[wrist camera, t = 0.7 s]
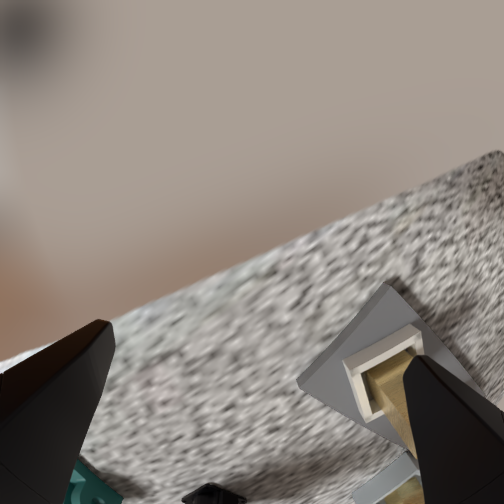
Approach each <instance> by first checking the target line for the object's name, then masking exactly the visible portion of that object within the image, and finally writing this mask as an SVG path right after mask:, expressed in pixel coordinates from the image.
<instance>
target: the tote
mask: <svg viewBox="0 0 504 504" xmlns="http://www.w3.org/2000/svg"><path fill="white" fill-rule="evenodd" d="M412 477H416V478H417V480H418V482H419V483H420V485H421V486H422V482H421V476H420V470H419V465H418V459H415V457H414V456H413V455H411V454H409V453H407V452H404V453H403V454H402V455H401V456H400V457H399V458H397V459H396V460H395V461H394V462H393V463H391V464H390V465H389V466H388V467H387V468H385V469H384V470H383V471H381V472H380V473H379V474H378V475H376V476H375V477H374V478H372V479H371V480H370V481H368V482H367V483H365V484H364V485H363V486H361V487H360V488H358V489H357V490H355V491H354V492H353V493H352V496H353V498H354V501H355V503H356V504H386V502H385V500H384V498H385V497H386V496H387V495H389V494H390V493H392V492H393V491H394V490H396V489H397V488H398V487H400V486H401V485H402V484H403V483H405V482H406V481H407V480H409V479H410V478H412Z"/></svg>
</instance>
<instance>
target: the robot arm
mask: <svg viewBox="0 0 504 504" xmlns="http://www.w3.org/2000/svg"><path fill="white" fill-rule="evenodd" d="M115 347H116V345H115V338H114V332H113V326H112V323H111V322H109V321H105V320H101V319H97V320H95V321H93V322H91V323H89V324H88V325H86V326H84V327H82V328H81V329H79V330H77V331H75V332H73V333H71V334H70V335H68V336H66V337H64V338H62V339H61V340H59V341H57V342H55V343H53V344H52V345H50V346H48V347H46V348H45V349H43V350H41V351H39V352H38V353H36V354H34V355H32V356H30V357H29V358H27V359H25V360H23V361H22V362H20V363H18V364H16V365H15V366H13V367H11V368H9V369H8V370H6V371H4V372H3V373H1V374H0V504H63V502H64V499H65V496H66V492H67V489H68V486H69V483H70V480H71V477H72V473H73V470H74V467H75V464H76V462H77V459H78V456H79V453H80V450H81V447H82V445H83V442H84V439H85V437H86V434H87V431H88V429H89V426H90V423H91V421H92V418H93V416H94V413H95V411H96V408H97V406H98V403H99V401H100V398H101V396H102V392H103V389H104V386H105V382H106V379H107V375H108V372H109V369H110V365H111V362H112V359H113V356H114V352H115ZM403 385H404V391H405V397H406V404H407V411H408V417H409V422H410V427H411V431H412V436H413V440H414V445H415V449H416V454H417V459H418V465H419V470H420V476H421V482H422V488H423V495H424V502H425V504H504V412H503V411H501V410H500V409H499V408H497V407H496V406H495V405H494V404H492V403H491V402H490V401H488V400H487V399H486V398H484V397H483V396H482V395H480V394H479V393H478V392H476V391H475V390H474V389H472V388H471V387H470V386H468V385H467V384H466V383H464V382H463V381H462V380H460V379H459V378H458V377H456V376H455V375H453V374H452V373H451V372H449V371H448V370H447V369H445V368H444V367H443V366H441V365H440V364H439V363H437V362H436V361H434V360H433V359H432V358H430V357H429V356H427V355H416V356H414V357H413V359H412V360H411V362H410V363H409V365H408V367H407V368H406V370H405V371H404V374H403ZM181 501H182V502H183V503H185V504H245V503H246V502H247V499H246V498H243V497H240V496H237V495H235V494H232V493H230V492H227V491H225V490H222V489H220V488H217V487H215V486H213V485H210V484H205V485H204V486H202V487H200V488H199V489H197V490H195V491H194V492H192V493H190V494H189V495H187V496H185V497H183V498H182V500H181Z"/></svg>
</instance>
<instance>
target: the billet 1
mask: <svg viewBox="0 0 504 504" xmlns="http://www.w3.org/2000/svg"><path fill="white" fill-rule="evenodd" d="M412 359H413V357H412V356H411V355H410V354H408V353H407V352H406V351H405V350H402V351H400V352H399V353H397V354H395V355H393V356H392V357H390V358H388V359H386V360H385V361H383V362H381V363H379V364H377V365H375V366H373V367H372V368H370V369H368V370H366V371H364V373H365V376H366V380H367V383H368V387H369V390H370V394H371V396H372V397H373V399H374V400H375V401H376V403H377V404H378V406H379V407H380V408H381V410H382V411H383V413H384V414H385V416H386V417H387V418H388V420H389V421H390V423H391V424H392V426H393V427H394V428H395V430H396V431H397V433H398V434H399V436H400V437H401V438H402V440H403V441H404V443H405V444H406V446H407V447H408V448H409V450H410V451H411V453H412V454H413V456H414V457H415V459H417V454H416V449H415V445H414V440H413V436H412V431H411V427H410V422H409V417H408V411H407V404H406V397H405V391H404V385H403V374H404V371H405V370H406V368H407V367H408V365H409V363H410V362H411V360H412Z"/></svg>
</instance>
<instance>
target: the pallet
mask: <svg viewBox="0 0 504 504" xmlns="http://www.w3.org/2000/svg"><path fill="white" fill-rule="evenodd" d="M402 350H405V351H406V352H407V353H408V354H410V355H411V356H412V357H414V356H416V355H427V356H429V357H430V358H432V359H433V360H434V361H436V362H437V363H439V364H440V365H441V366H443V367H444V368H445V369H447V370H448V371H449V372H451V373H452V374H453V375H455V376H456V377H458V378H459V379H460V380H462V381H463V382H464V383H466V384H467V385H468V386H470V387H471V388H472V389H474V390H475V391H476V392H478V393H479V394H480V395H482V396H483V397H485V396H486V395H485V394H484V392H483V391H482V390H481V389H480V387H479V386H478V385H477V383H476V382H475V381H474V380H473V378H472V377H471V376H470V375H469V373H468V372H467V371H466V370H465V368H464V367H463V366H462V365H461V363H460V362H459V361H458V360H457V359H456V357H455V356H454V355H453V354H452V353H451V352H450V350H449V349H448V348H447V347H446V346H445V344H444V343H443V342H442V341H441V340H440V339H439V338H438V336H437V335H436V334H435V333H434V332H433V331H432V330H431V328H430V327H429V326H428V325H427V324H426V323H425V322H424V321H423V320H422V318H421V317H420V316H419V315H418V314H417V313H416V312H415V311H414V310H413V309H412V308H411V306H410V305H409V304H408V303H407V302H406V301H405V300H404V299H403V298H402V297H401V296H400V295H399V294H398V293H397V292H396V291H395V290H394V288H393V287H392V286H390V285H388V284H386V283H384V282H383V284H382V285H381V286H380V287H379V289H378V290H377V291H376V292H375V294H374V295H373V296H372V297H371V299H370V300H369V301H368V302H367V303H366V305H365V306H364V307H363V308H362V309H361V311H360V312H359V313H358V314H357V315H356V316H355V318H354V319H353V320H352V321H351V322H350V323H349V325H348V326H347V327H346V328H345V329H344V330H343V331H342V332H341V334H340V335H339V336H338V337H337V338H336V339H335V340H334V341H333V342H332V343H331V344H330V346H329V347H328V348H327V349H326V350H325V351H324V352H323V353H322V354H321V355H320V356H319V357H318V358H317V359H316V360H315V361H314V362H313V363H312V364H311V365H310V366H309V367H308V368H307V369H306V370H305V371H304V372H303V373H302V374H301V375H300V376H299V377H298V378H297V379H296V380H297V383H298V386H299V388H300V389H301V390H303V391H305V392H306V393H308V394H309V395H311V396H313V397H314V398H316V399H317V400H319V401H321V402H322V403H324V404H326V405H327V406H329V407H331V408H332V409H334V410H336V411H337V412H339V413H341V414H342V415H344V416H346V417H348V418H349V419H351V420H353V421H355V422H356V423H358V424H360V425H362V426H364V427H365V428H367V429H369V430H371V431H373V432H375V433H376V434H378V435H380V436H382V437H384V438H386V439H388V440H390V441H392V442H394V443H396V444H398V445H400V446H402V447H404V448H406V449H408V450H409V448H408V447H407V446H406V444H405V443H404V441H403V440H402V438H401V437H400V436H399V434H398V433H397V431H396V430H395V428H394V427H393V426H392V424H391V423H390V421H389V420H388V418H387V417H386V416H385V414H384V413H383V411H382V410H381V408H380V407H379V406H378V404H377V403H376V401H375V400H374V399H373V397H372V396H371V394H370V390H369V387H368V383H367V380H366V376H365V373H364V371H366V370H368V369H370V368H372V367H373V366H375V365H377V364H379V363H381V362H383V361H385V360H386V359H388V358H390V357H392V356H393V355H395V354H397V353H399V352H400V351H402Z"/></svg>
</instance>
